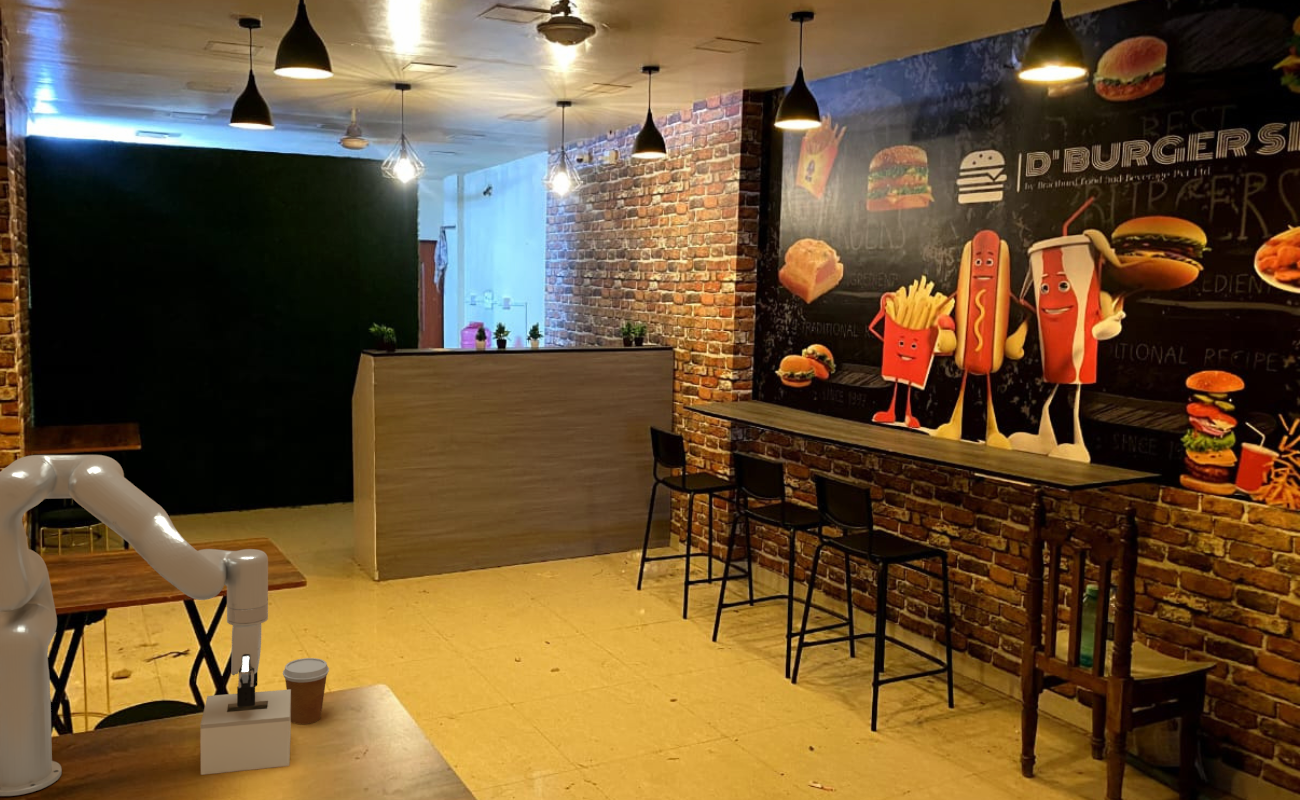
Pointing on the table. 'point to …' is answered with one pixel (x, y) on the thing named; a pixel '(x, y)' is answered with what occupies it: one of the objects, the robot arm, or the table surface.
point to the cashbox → (246, 732)
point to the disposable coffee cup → (306, 688)
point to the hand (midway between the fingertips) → (247, 696)
